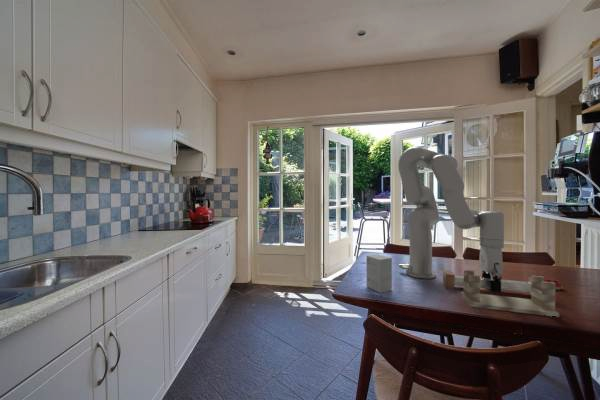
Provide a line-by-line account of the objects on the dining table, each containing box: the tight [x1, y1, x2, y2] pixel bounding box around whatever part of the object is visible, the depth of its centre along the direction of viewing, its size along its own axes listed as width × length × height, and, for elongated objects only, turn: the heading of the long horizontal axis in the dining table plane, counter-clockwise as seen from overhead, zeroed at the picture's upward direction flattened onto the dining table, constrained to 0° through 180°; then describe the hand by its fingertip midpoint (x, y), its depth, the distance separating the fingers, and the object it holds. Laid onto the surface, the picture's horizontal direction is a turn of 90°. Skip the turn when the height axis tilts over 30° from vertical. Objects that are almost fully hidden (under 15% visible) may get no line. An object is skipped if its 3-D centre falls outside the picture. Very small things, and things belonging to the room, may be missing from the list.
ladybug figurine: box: [543, 276, 564, 291], centre depth 102 cm, size 7×10×4 cm
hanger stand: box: [461, 269, 560, 318], centre depth 85 cm, size 24×10×10 cm, turn 71°
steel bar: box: [442, 269, 545, 295], centre depth 98 cm, size 32×6×6 cm, turn 71°
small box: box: [366, 253, 393, 294], centre depth 101 cm, size 8×6×13 cm
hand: (491, 286), depth 98 cm, fingers open, 8 cm apart
